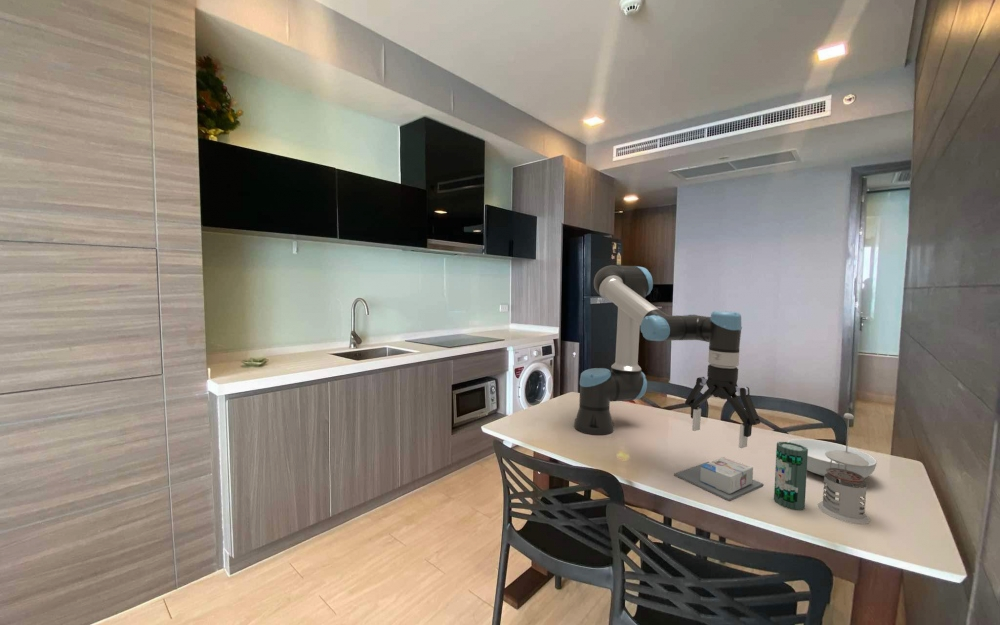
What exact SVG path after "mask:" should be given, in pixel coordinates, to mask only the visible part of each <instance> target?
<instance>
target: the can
mask: <svg viewBox="0 0 1000 625" xmlns="http://www.w3.org/2000/svg"><path fill="white" fill-rule="evenodd" d="M775 449H776V450H775V452H776V453H775V471H774V489H773V491H774V493H773V500H774V502H775V503H776V504H778V505H779V506H781V507H784V508H787V509H790V510H794V511H803V510H805V507H806V506H805V505H806V489H807V476H808V475H807V473H808V472H807V471H808V470H807V456H808V449H807V448H806V447H804V446H802V445H798V444H796V443H791V442H787V441H778V442H777V443H776V448H775Z"/></svg>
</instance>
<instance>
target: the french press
mask: <svg viewBox="0 0 1000 625" xmlns="http://www.w3.org/2000/svg"><path fill="white" fill-rule="evenodd" d="M843 418H845V419H847V430H846V445H845V446H846V451H841V450H834V451H829V452H826V453H825V455H826V456H827V457H828V458H829V459H831V461H830V468H828V469H826V470H827V473H826V474H825V475H824V476H823V494H822V501H820V502H819V503H817V508H818V509H819V510H821V512H822V513H824V514H826V515H828V516H830V517H832V518H835V519H837V520H838V521H842V522H846V523H851V524H856V525H857V524H858V525H866V524H869V523H870V522H871V519H870V517H869V516H868V515H867V513H866V502H867V501H866V498H867V484H866V482H865V481H866V478H864V477H863V476H861V475H859V474H857V473H855V472H852V471H848V470H846V465H848V466H853V467H866V466H868V465H869V463H868V461H866V460H865V459H863V458H862V457H860V456H859V455H857V454H854V453H851V452H848V451H847V448H848V447H849V446H848V445H849V429H850V420H855V416H854V414H852V413H849V412H845V413H844V414H843ZM832 460H833V461H835V462H836V463H838V468H834V467H833V468H831V463H832ZM839 464H844V465H845V469H840V468H839ZM836 478H838V479H836ZM837 480H838V482H839V483H837ZM854 485H858V486H854ZM859 486H862V487H859ZM836 493H838V494H836ZM836 498H837V499H836Z"/></svg>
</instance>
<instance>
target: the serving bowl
mask: <svg viewBox="0 0 1000 625" xmlns="http://www.w3.org/2000/svg"><path fill="white" fill-rule="evenodd" d="M786 442H791V443H796V444H798V445H802V446H804V447H806V448H807V449H808V456H807V471H809V472H811V473H812V474H813V473H814V474H816V475H818V476H822V477H824V475H825V474H826V473H827V470H826V469H828V468H830V461H831V459H829V458H828V457H827V456H826V455H825V453H826V452H829V451H834V450H841V451H846V445H844V444H841V443H836V442H831V441H825V440H819V439H812V438H809V439H808V438H792V439H788V440H786ZM847 451H848V452H851V453H854V454H857V455H859V456H860V457H862V458H863V459H865V460H866V461H868V463H869V465H868V466H866V467H853V466H848V465H846V470H848V471H852V472H855V473H857V474H859V475H861V476H863V477H864V478H865V479H866V478H867V477H869V476H871V475H872V474H873V473H874V472H875V470H876V467H877V464H878V463H877V462H878V461H877V460H876V457H874V456H872V455H870V454H869V453H866V452H865V451H862V450H861V449H857V448H853V447H850V446H848V448H847ZM833 467H834V468H838V463H836V462H835V461H833V460H832V463H831V468H833ZM839 468H840V469H845V465H844V464H839ZM836 480H839V479H838V478H836Z"/></svg>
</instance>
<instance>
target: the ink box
mask: <svg viewBox="0 0 1000 625" xmlns="http://www.w3.org/2000/svg"><path fill="white" fill-rule="evenodd" d="M708 462H709V463H707V464H704V465H701V469H700V482H702V483H705V484H707V485H709V486H712V487H714V488H717V489H719V490H721V491H724V492H726V493H728V494H731V493H733V492H735V491H737V490H739V489H741V488H743V487H745V486H747V485H750V484H752V483H753V480H754V479H753V478H754V476H753V475H754V467H753V466H751V465H748V464H744V463H741V462H740V461H739V462H738V461H735V460H733V459H730V458H727V457H720V458H718V459H715V460H712V461H708Z"/></svg>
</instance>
